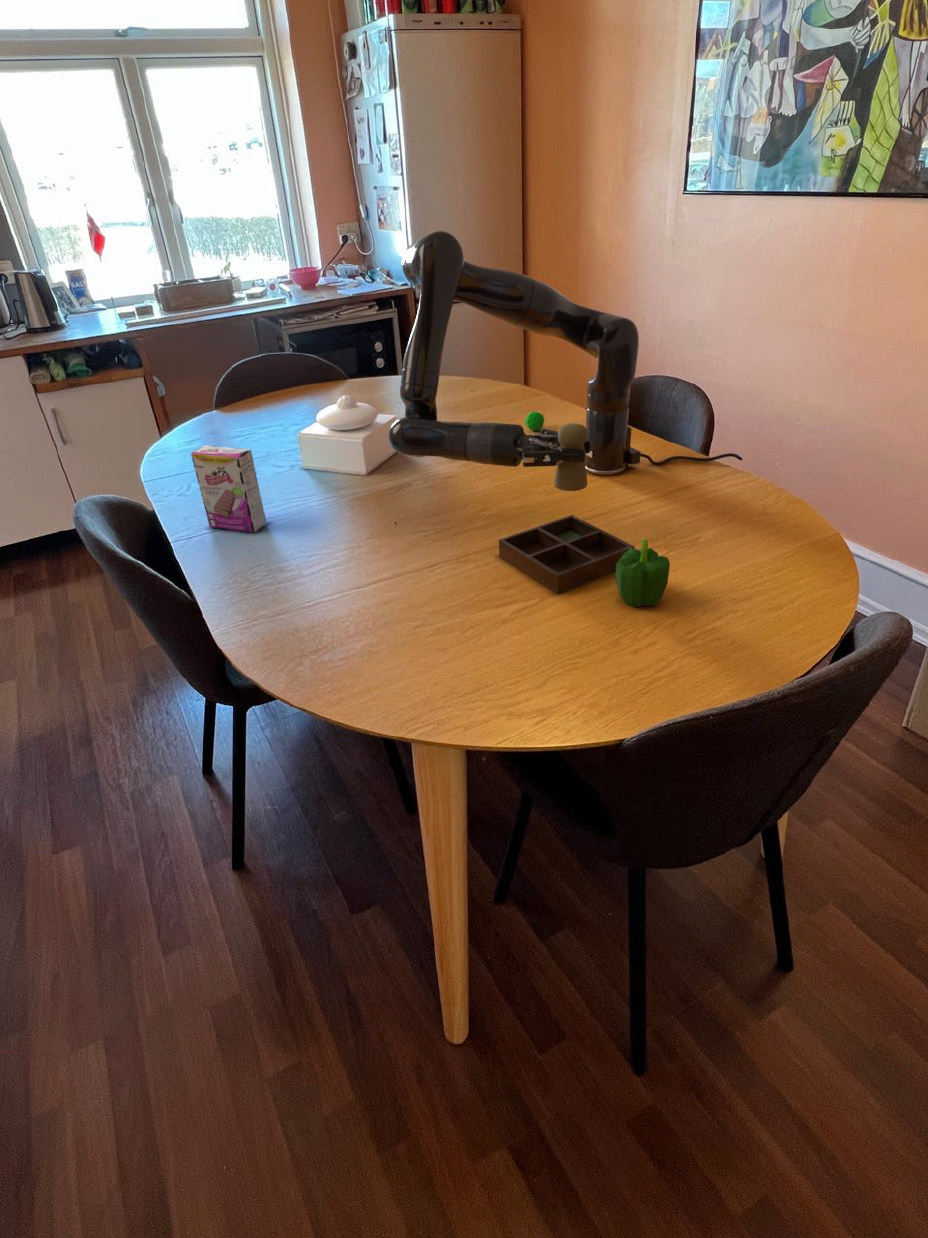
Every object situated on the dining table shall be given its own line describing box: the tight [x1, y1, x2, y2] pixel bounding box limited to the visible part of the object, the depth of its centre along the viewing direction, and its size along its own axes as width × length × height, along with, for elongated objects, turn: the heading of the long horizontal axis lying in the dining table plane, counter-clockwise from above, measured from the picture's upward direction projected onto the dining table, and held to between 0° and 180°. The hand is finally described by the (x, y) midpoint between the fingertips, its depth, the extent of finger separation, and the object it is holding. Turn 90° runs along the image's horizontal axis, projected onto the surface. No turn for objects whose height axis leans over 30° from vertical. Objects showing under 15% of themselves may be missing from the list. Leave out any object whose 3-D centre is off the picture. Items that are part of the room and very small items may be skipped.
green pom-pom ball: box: [524, 410, 545, 432], centre depth 196 cm, size 5×5×5 cm
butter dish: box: [296, 394, 398, 476], centre depth 181 cm, size 18×18×16 cm
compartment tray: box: [498, 514, 635, 595], centre depth 133 cm, size 17×17×4 cm
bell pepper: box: [615, 538, 671, 608], centre depth 119 cm, size 8×8×10 cm
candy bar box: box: [190, 445, 267, 534], centre depth 150 cm, size 11×5×16 cm, turn 71°
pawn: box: [553, 422, 588, 492], centre depth 132 cm, size 6×6×11 cm
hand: (587, 451), depth 131 cm, fingers closed on pawn, 4 cm apart
